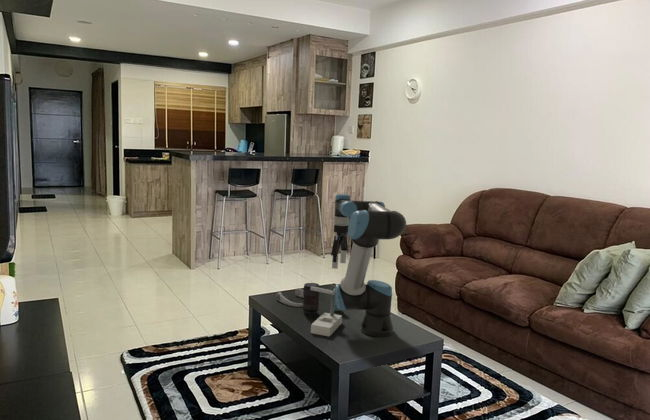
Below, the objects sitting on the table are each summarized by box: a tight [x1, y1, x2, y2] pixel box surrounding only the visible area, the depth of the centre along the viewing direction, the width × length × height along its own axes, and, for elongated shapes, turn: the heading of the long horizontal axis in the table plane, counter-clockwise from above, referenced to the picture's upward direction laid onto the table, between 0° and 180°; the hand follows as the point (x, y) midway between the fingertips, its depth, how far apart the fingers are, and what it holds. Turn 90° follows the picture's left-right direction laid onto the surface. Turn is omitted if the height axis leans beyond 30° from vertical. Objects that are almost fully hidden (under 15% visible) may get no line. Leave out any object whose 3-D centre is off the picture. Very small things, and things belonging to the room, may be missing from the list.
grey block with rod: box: [310, 294, 343, 337], centre depth 232 cm, size 9×18×14 cm, turn 161°
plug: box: [332, 288, 341, 312], centre depth 258 cm, size 5×5×11 cm
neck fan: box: [276, 287, 304, 308], centre depth 269 cm, size 18×17×5 cm
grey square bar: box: [310, 286, 335, 296], centre depth 240 cm, size 2×13×2 cm, turn 64°
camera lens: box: [302, 282, 321, 317], centre depth 251 cm, size 8×8×15 cm
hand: (338, 265), depth 255 cm, fingers open, 13 cm apart
